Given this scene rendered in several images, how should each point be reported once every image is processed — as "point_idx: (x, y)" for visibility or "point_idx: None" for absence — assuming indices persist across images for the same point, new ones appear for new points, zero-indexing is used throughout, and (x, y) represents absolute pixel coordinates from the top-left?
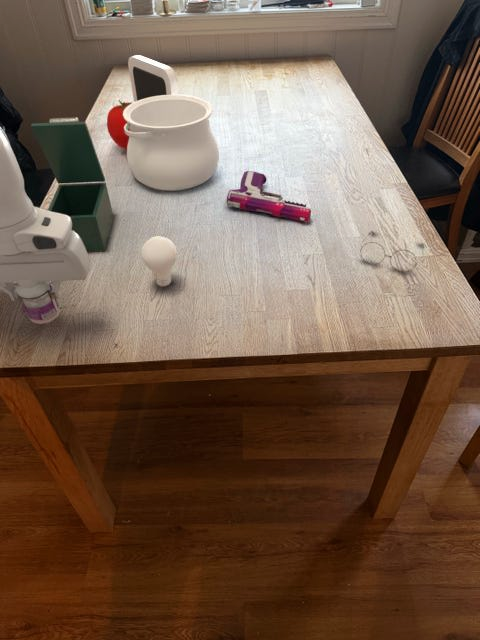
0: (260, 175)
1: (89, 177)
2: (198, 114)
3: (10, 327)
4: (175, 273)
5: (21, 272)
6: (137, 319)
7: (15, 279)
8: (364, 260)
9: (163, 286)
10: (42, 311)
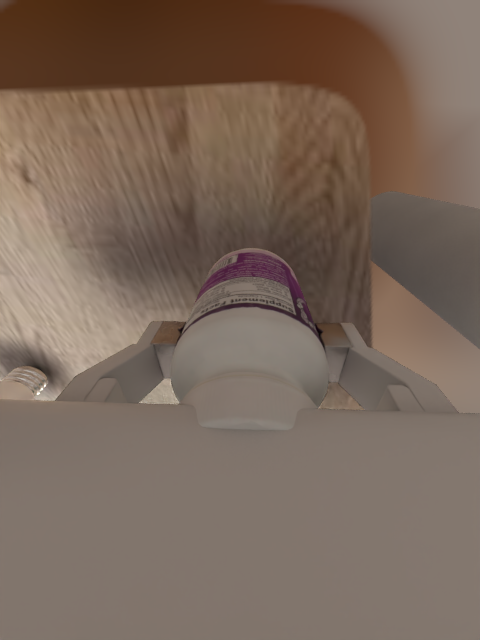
0: None
1: None
2: None
3: (357, 272)
4: None
5: (238, 531)
6: (31, 278)
7: (316, 439)
8: None
9: (24, 366)
10: (224, 270)
